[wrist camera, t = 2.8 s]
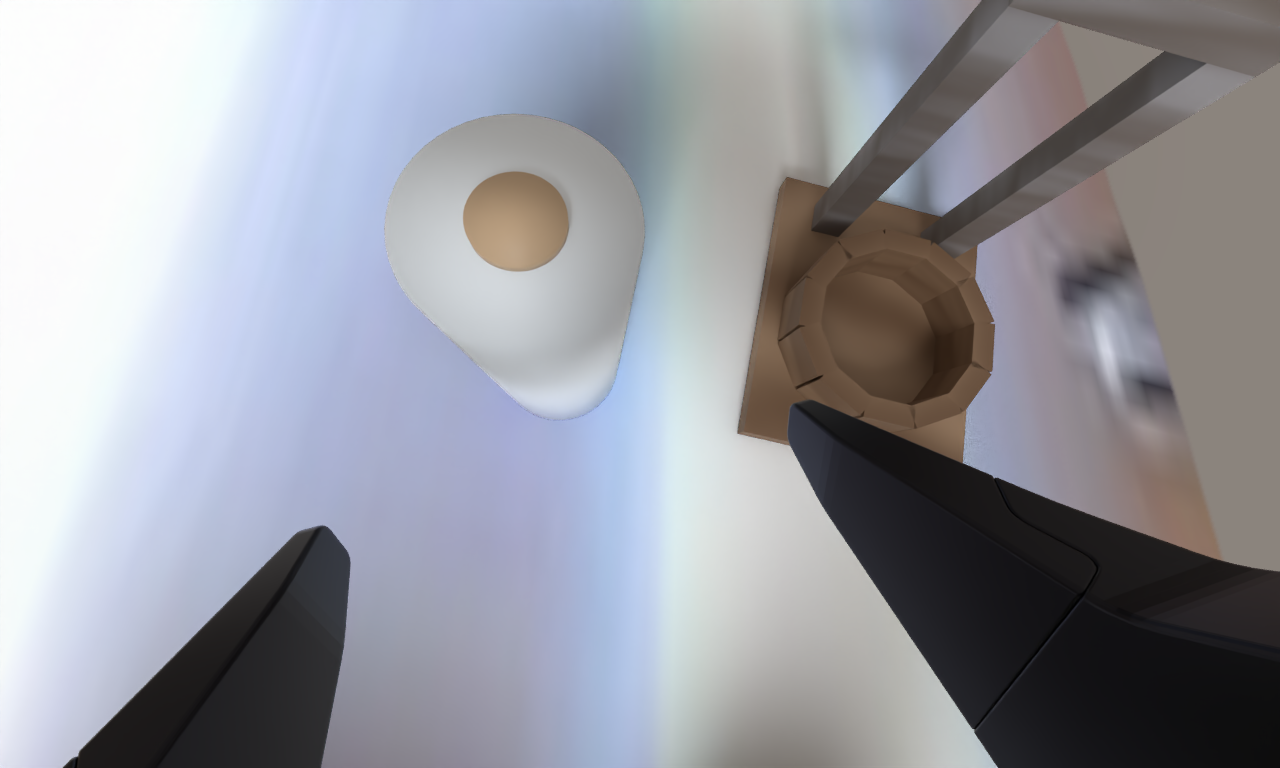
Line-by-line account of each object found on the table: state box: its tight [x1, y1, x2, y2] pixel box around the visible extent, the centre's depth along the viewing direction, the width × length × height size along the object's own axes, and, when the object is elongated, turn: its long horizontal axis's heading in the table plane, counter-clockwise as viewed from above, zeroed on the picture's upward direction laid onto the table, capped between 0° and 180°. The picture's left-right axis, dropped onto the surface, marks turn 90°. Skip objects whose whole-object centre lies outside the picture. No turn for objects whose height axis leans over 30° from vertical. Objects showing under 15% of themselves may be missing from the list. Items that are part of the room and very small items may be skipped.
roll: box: [384, 114, 645, 420], centre depth 16 cm, size 6×6×13 cm
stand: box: [738, 0, 1280, 463], centre depth 18 cm, size 14×11×14 cm
